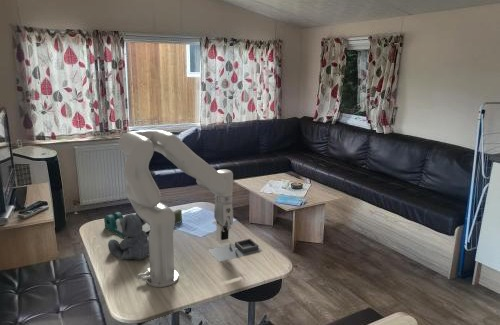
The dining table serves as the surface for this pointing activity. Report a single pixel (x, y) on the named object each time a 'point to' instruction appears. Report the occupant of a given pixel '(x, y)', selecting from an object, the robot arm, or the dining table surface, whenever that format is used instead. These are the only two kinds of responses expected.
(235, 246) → the grey base with tray
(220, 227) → the cream rectangular block
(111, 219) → the dark green rounded piece
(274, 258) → the dining table surface
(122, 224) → the koala plush
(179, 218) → the handheld radio
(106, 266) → the dining table surface
